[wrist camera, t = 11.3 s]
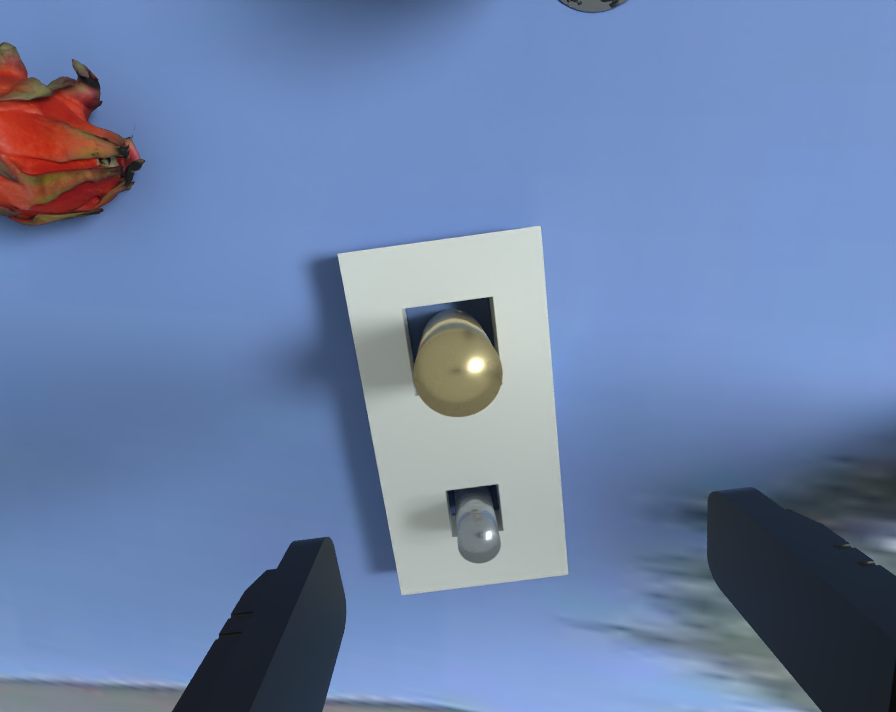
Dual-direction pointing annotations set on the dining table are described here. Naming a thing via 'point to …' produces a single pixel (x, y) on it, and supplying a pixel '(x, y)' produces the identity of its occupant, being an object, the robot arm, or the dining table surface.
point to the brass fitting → (456, 365)
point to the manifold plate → (461, 438)
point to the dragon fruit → (56, 146)
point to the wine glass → (593, 5)
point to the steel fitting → (476, 524)
